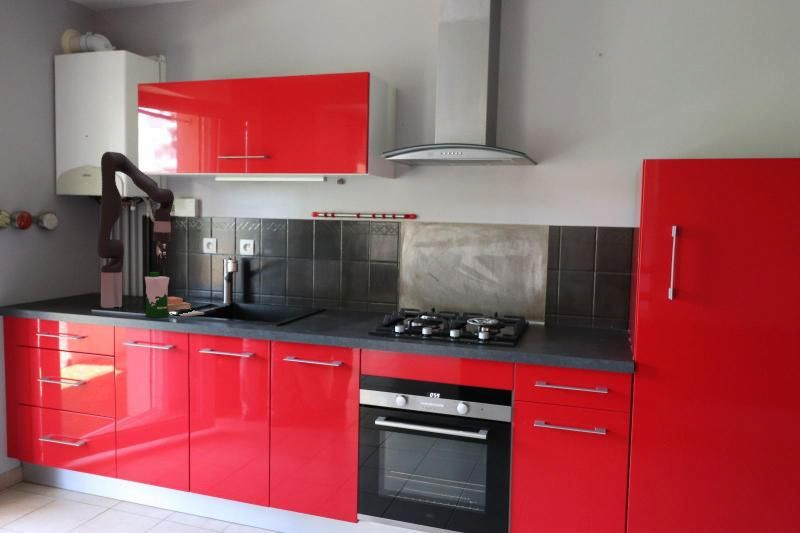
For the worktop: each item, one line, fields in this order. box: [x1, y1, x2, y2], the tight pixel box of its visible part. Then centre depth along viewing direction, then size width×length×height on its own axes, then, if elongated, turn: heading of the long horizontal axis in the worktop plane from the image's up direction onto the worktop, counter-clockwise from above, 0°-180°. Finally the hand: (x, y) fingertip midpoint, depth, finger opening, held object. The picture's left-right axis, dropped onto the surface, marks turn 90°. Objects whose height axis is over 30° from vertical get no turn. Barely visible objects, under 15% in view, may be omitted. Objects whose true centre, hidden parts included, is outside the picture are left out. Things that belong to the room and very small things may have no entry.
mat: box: [179, 310, 205, 317], centre depth 310 cm, size 11×12×1 cm
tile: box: [168, 296, 184, 304], centre depth 317 cm, size 8×6×2 cm
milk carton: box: [144, 271, 170, 319], centre depth 300 cm, size 9×9×20 cm
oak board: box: [168, 301, 191, 313], centre depth 317 cm, size 12×12×4 cm
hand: (161, 265), depth 314 cm, fingers open, 8 cm apart
